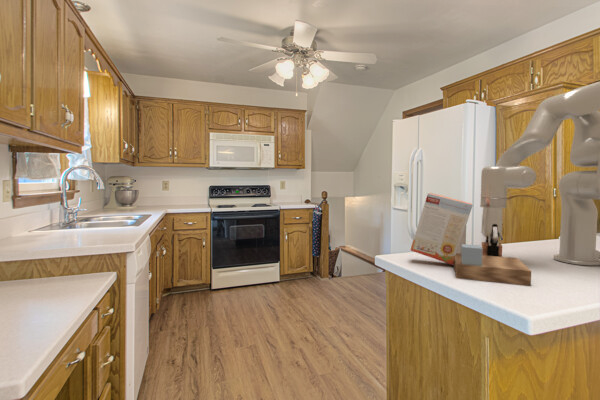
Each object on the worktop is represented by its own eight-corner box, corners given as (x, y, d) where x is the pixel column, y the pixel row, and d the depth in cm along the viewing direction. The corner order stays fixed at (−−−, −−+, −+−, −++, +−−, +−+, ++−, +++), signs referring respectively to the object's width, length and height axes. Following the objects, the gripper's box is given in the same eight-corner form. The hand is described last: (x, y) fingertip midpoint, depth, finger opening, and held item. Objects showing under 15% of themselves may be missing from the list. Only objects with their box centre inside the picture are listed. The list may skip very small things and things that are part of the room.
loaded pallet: (507, 263, 109) (507, 243, 109) (509, 267, 104) (510, 246, 103) (473, 260, 113) (474, 241, 113) (474, 263, 108) (475, 244, 108)
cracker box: (453, 261, 109) (473, 203, 105) (452, 265, 103) (473, 204, 100) (412, 247, 115) (429, 192, 111) (409, 250, 109) (427, 192, 106)
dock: (516, 270, 100) (517, 258, 100) (530, 285, 85) (531, 271, 85) (453, 264, 107) (453, 252, 107) (456, 277, 92) (456, 264, 92)
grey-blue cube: (479, 262, 94) (480, 245, 94) (481, 266, 90) (482, 248, 90) (460, 260, 96) (461, 244, 96) (462, 264, 92) (462, 247, 92)
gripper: (477, 201, 117) (475, 250, 118) (484, 204, 101) (482, 260, 102) (501, 202, 114) (499, 252, 115) (511, 205, 98) (509, 263, 99)
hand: (491, 255), depth 108 cm, fingers closed on loaded pallet, 5 cm apart
